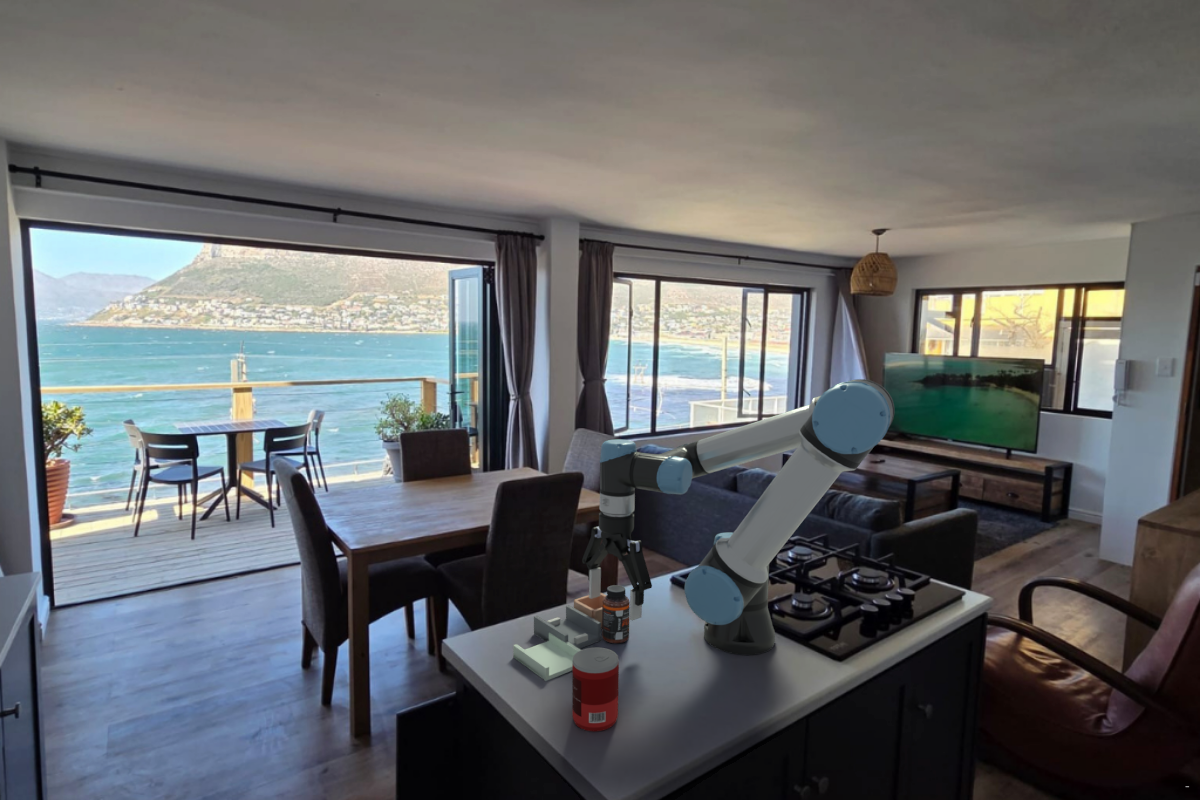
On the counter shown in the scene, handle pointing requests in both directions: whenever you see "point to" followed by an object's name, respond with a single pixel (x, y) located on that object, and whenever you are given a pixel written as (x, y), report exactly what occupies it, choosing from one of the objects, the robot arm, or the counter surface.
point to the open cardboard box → (590, 606)
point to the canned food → (595, 688)
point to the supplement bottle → (615, 615)
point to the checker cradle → (570, 628)
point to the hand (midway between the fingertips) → (614, 607)
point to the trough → (547, 657)
